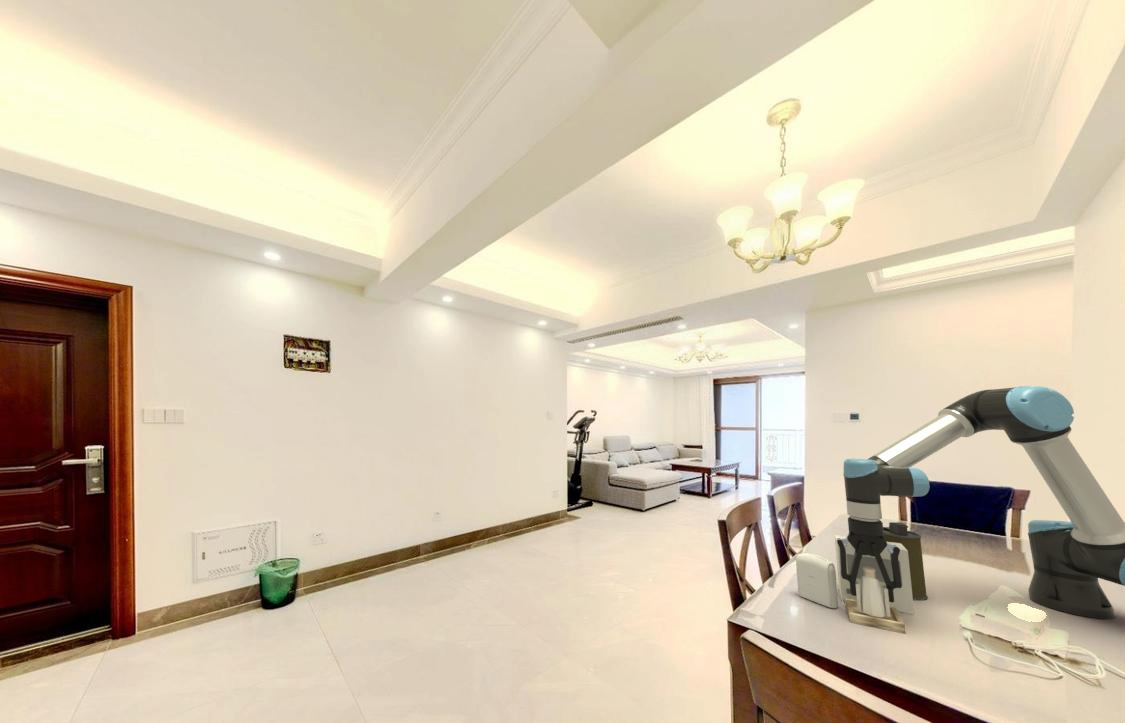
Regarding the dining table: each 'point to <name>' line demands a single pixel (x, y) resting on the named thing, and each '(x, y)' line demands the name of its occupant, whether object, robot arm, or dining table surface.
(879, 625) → the tray
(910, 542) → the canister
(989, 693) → the dining table surface
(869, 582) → the pepper shaker
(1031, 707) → the dining table surface
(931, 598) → the dining table surface
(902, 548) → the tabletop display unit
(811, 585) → the photo printer
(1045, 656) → the dining table surface
